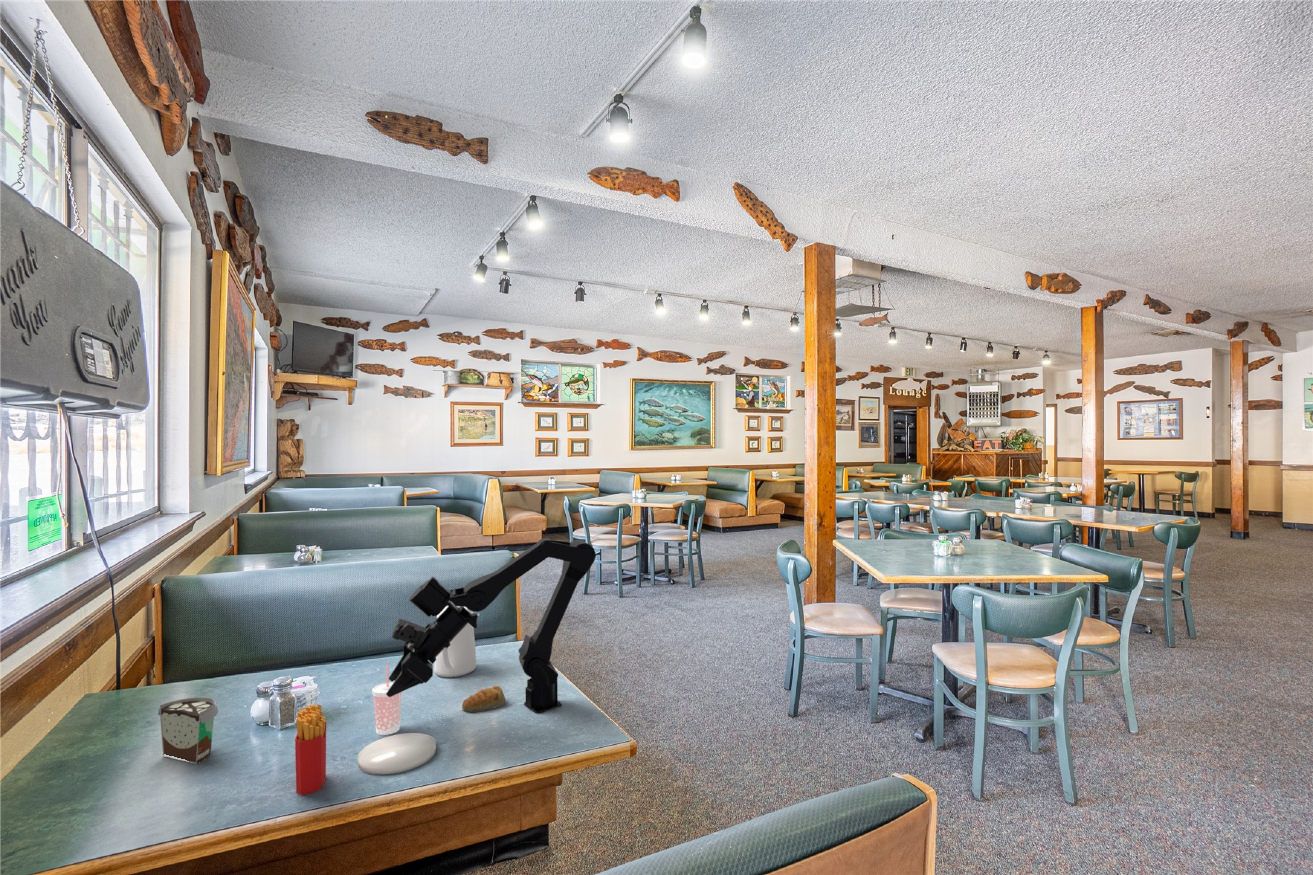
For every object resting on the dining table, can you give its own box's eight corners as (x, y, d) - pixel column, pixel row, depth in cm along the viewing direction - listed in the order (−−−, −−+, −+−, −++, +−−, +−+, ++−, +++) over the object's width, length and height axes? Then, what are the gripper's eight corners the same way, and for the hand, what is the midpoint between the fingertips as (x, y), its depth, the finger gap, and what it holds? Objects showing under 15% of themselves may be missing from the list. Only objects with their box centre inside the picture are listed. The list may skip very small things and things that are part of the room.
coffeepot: (484, 654, 181) (483, 589, 181) (467, 687, 156) (467, 611, 156) (445, 656, 179) (445, 590, 180) (422, 689, 154) (422, 613, 155)
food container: (233, 750, 124) (233, 700, 124) (202, 765, 118) (201, 712, 118) (190, 741, 128) (190, 692, 128) (157, 755, 122) (157, 704, 123)
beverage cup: (384, 722, 136) (383, 658, 136) (409, 724, 135) (408, 659, 135) (365, 735, 130) (365, 668, 130) (391, 737, 129) (391, 669, 129)
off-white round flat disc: (421, 732, 131) (421, 726, 131) (447, 757, 120) (447, 750, 120) (349, 754, 122) (349, 747, 122) (370, 783, 111) (370, 776, 111)
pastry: (469, 717, 139) (469, 700, 139) (456, 708, 144) (456, 691, 144) (507, 705, 145) (507, 688, 145) (494, 697, 150) (494, 681, 150)
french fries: (320, 794, 108) (319, 718, 108) (292, 799, 106) (291, 722, 107) (328, 768, 116) (328, 698, 117) (303, 772, 115) (302, 702, 115)
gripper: (416, 596, 143) (363, 650, 139) (415, 617, 126) (354, 679, 122) (452, 627, 146) (401, 681, 142) (456, 651, 129) (398, 713, 125)
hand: (389, 687), depth 133 cm, fingers open, 9 cm apart
